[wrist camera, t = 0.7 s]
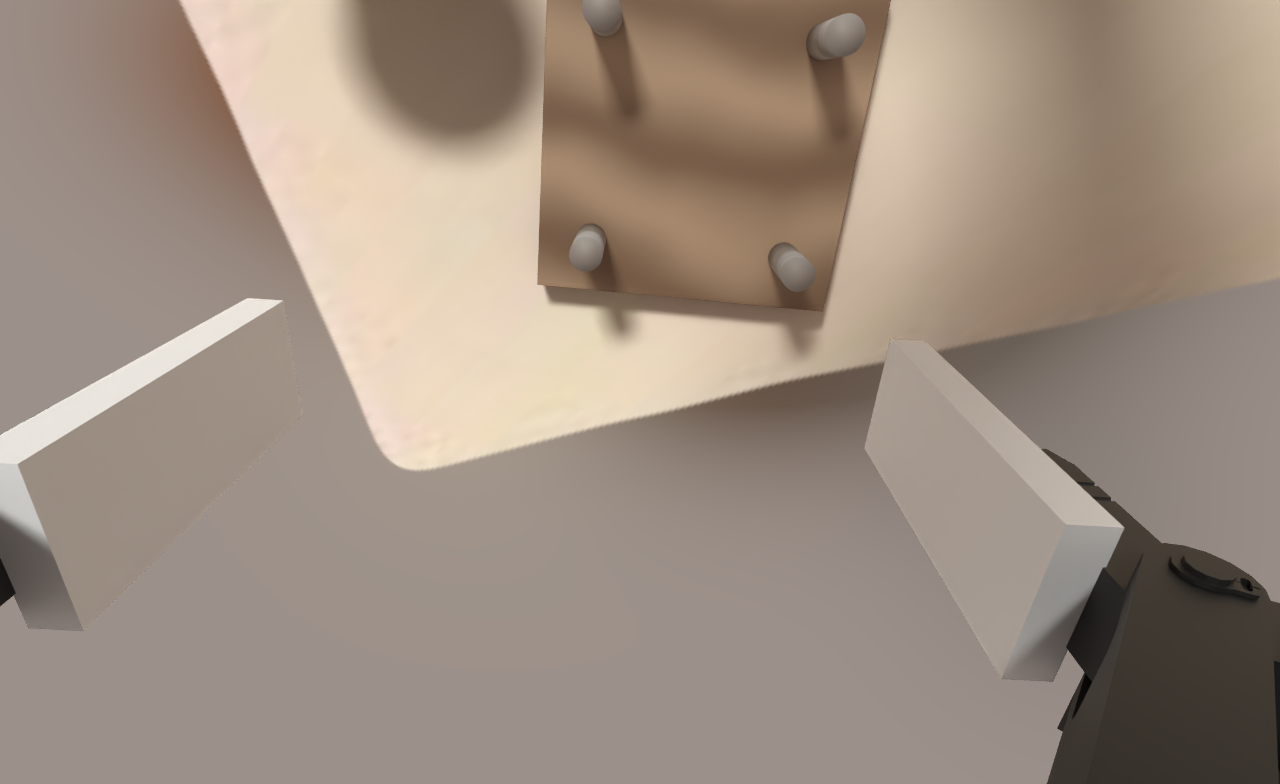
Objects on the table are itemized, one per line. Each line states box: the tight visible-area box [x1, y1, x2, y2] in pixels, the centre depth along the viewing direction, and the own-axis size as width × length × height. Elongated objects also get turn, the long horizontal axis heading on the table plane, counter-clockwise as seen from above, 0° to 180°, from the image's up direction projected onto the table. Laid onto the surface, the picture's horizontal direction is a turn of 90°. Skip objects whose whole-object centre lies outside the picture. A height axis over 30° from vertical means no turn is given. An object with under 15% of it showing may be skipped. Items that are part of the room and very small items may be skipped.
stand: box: [537, 0, 891, 311], centre depth 32 cm, size 16×16×6 cm
